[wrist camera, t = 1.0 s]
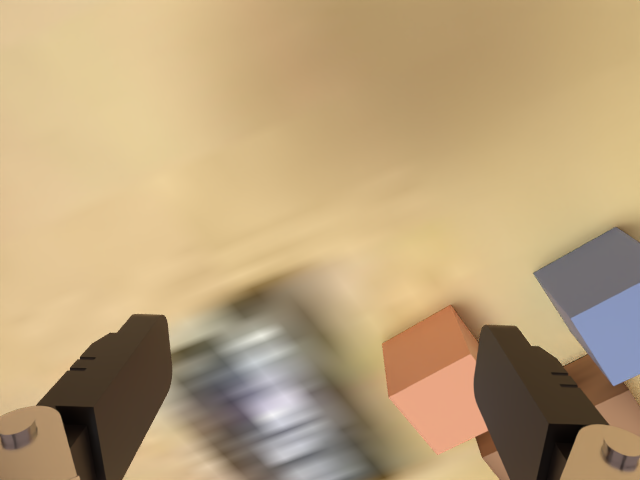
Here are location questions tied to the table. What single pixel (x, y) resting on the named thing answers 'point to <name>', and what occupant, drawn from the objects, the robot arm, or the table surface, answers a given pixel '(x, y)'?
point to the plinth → (603, 395)
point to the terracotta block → (436, 379)
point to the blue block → (601, 300)
